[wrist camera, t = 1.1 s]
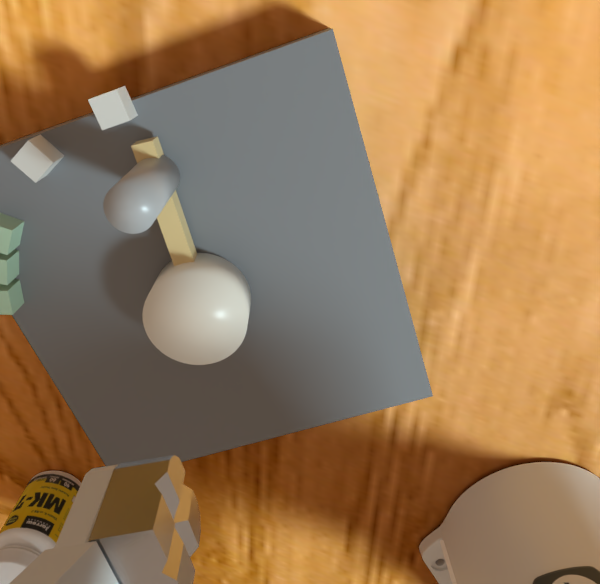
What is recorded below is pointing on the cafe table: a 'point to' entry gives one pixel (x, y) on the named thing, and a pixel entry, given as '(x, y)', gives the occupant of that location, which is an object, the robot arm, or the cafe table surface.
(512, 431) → the cafe table surface
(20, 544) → the supplement bottle
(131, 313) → the dial plate
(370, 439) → the cafe table surface
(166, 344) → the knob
